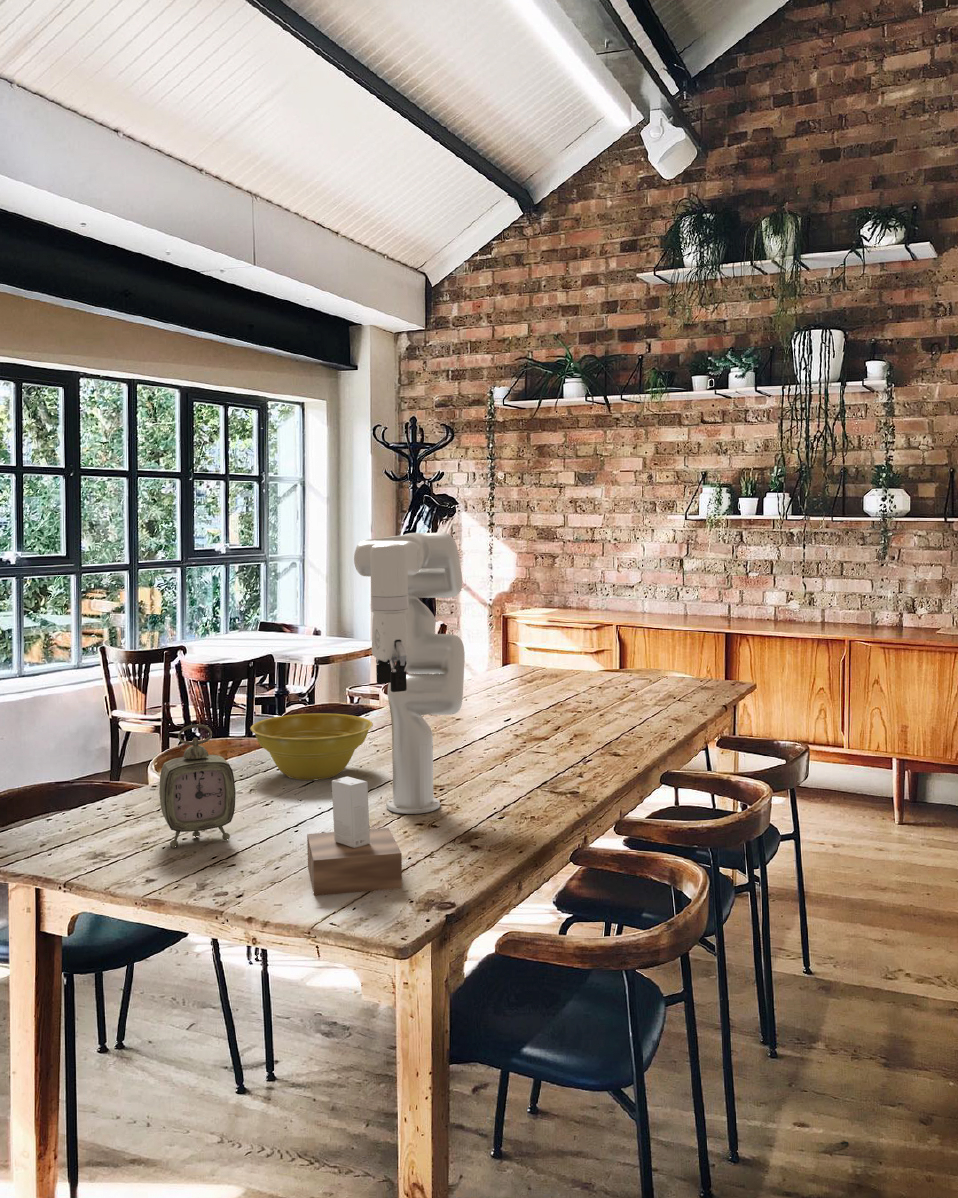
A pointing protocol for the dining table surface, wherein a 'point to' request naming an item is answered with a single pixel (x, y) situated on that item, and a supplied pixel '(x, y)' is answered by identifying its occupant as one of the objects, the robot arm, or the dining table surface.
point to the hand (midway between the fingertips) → (391, 687)
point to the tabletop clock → (197, 790)
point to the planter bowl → (311, 742)
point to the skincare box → (350, 812)
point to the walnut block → (354, 864)
